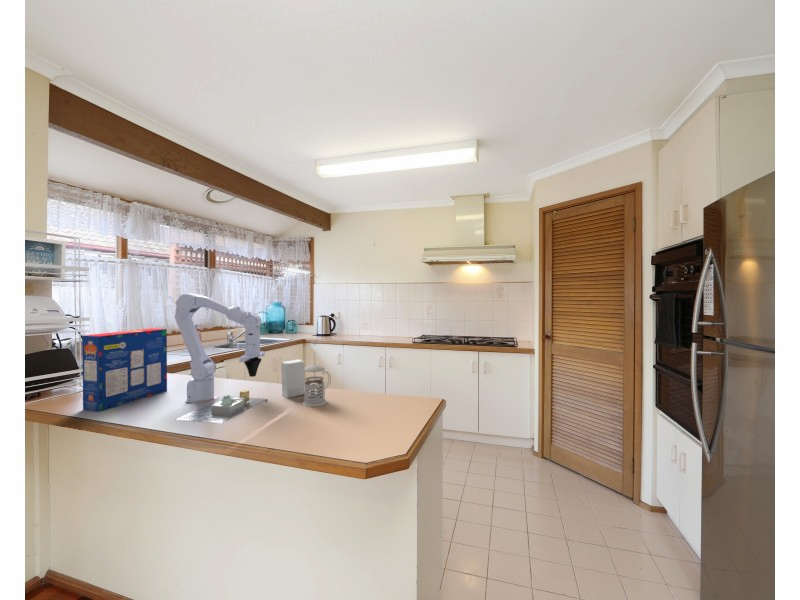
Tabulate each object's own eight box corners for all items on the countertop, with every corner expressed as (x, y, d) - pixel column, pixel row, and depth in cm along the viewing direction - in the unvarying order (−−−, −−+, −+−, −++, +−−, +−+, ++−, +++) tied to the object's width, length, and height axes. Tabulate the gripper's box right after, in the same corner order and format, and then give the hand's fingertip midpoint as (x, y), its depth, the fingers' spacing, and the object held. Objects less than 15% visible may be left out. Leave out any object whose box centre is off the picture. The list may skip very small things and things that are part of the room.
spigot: (219, 412, 123) (219, 396, 123) (226, 409, 126) (226, 394, 126) (226, 413, 122) (226, 397, 122) (233, 410, 125) (233, 394, 125)
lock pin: (226, 408, 126) (226, 397, 126) (243, 400, 136) (243, 390, 136) (232, 408, 126) (232, 397, 126) (249, 400, 135) (249, 390, 135)
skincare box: (299, 391, 153) (299, 358, 153) (305, 395, 149) (305, 360, 148) (280, 395, 148) (280, 361, 148) (286, 398, 143) (286, 363, 143)
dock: (174, 422, 116) (174, 410, 116) (228, 398, 143) (228, 389, 143) (221, 426, 113) (221, 414, 113) (267, 401, 140) (267, 391, 140)
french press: (298, 401, 139) (298, 340, 139) (324, 396, 146) (325, 338, 146) (307, 408, 132) (307, 343, 131) (335, 402, 138) (335, 340, 138)
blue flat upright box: (152, 389, 156) (152, 328, 155) (167, 391, 154) (166, 328, 153) (83, 410, 128) (82, 335, 128) (99, 411, 126) (98, 336, 126)
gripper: (250, 346, 135) (250, 381, 135) (271, 341, 149) (271, 372, 149) (234, 346, 136) (234, 380, 136) (256, 341, 150) (256, 372, 151)
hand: (252, 376), depth 143 cm, fingers closed
